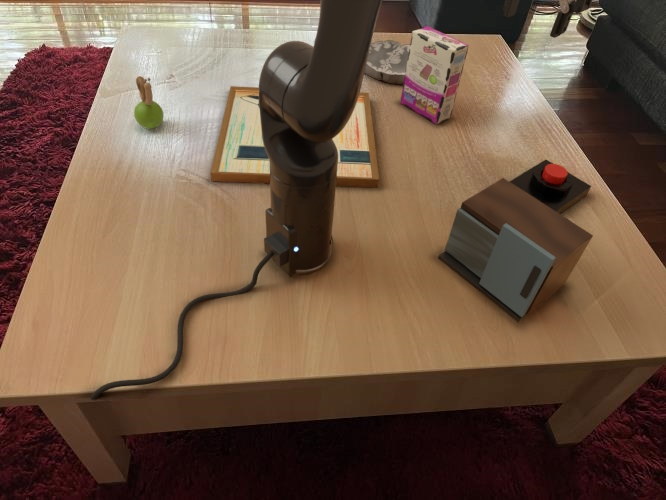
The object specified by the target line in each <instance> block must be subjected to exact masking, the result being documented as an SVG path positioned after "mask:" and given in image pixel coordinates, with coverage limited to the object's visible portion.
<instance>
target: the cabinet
mask: <svg viewBox="0 0 666 500" xmlns="http://www.w3.org/2000/svg"><path fill="white" fill-rule="evenodd" d="M506 223H507V224H508V225H510V226H511V227H513V228H514V229H516V230H517V231H518V232H520V233H521V234H523V235H524V236H526V237H527V238H529V239H530V240H531V241H533V242H534V243H536V244H537V245H539V246H540V247H541V248H543V249H544V250H546V251H547V252H549V253H550V254H552V255H553V256H554V257H556V258H555V260H554V262H553V264H552V266H551V268H550V269H549V271H548V273H547V275H546V277H545V279H544V280H543V282H542V284H541V286H540V288H539V290H538V291H537V293H536V295H535V297H534V299H533V301H532V303H531V304H530V306H529V308H528V310H527V312H526V314H525V315H524V316H523V317H521V316H519V315H518V314H517V313H515V312H514V311H513V310H512V309H510V308H509V307H508V306H507V305H505V304H504V303H503V302H502V301H500V300H499V299H498V298H497V297H495V296H494V295H493V294H491V293H490V292H489V291H488V290H486V289H485V288H484V287H483V286H481V285H480V284H479V282H480V280H481V278H482V275H483V273H484V270H485V268H486V265H487V263H488V260H489V258H490V256H491V253H492V251H493V248H494V246H495V243H496V241H497V239H498V236H499V234H500V231H501V229H502V226H503V225H504V224H506ZM593 236H594V235H593V234H592V233H590V232H589V231H587V230H585V229H584V228H582V227H581V226H579V225H578V224H576V223H575V222H573V221H571V220H570V219H568V218H567V217H565V216H564V215H562V214H559V213H557V212H556V211H554V210H553V209H551V208H550V207H548V206H546V205H545V204H543V203H542V202H540V201H539V200H537V199H536V198H534V197H532V196H531V195H529V194H528V193H526V192H525V191H523V190H522V189H520V188H518V187H517V186H515V185H514V184H512V183H511V182H510V180H508V179H506V178H505V177H501V178H500V179H499V180H496V181H495V182H493V183H492V184H490V185H489V186H487V187H485V188H483V189H482V190H481V191H479V192H477V193H475V194H474V195H472V196H470V197H468V198H467V199H465V200H463V201H462V202H461V205H460V207H458V208H457V209H456V212H455V216H454V219H453V221H452V226H451V229H450V231H449V235H448V239H447V242H446V245H445V248H444V251H442V252H440V253H439V254H438V256H437V259H438V260H439V261H441V263H443V264H445V265H446V266H447V267H448V268H450V270H452V271H453V272H455V273H456V274H457V275H458V276H460V277H461V278H462V279H463V280H465V281H466V282H467V283H468V284H469V285H470V286H471V287H473V288H475V290H477V291H478V292H480V293H481V294H482V295H483V296H485V297H486V298H487V299H488V300H489V301H491V302H492V303H493V304H495V306H497V307H498V308H499V309H501V310H502V311H503V312H504V313H506V314H507V315H508V316H509V317H510V318H512V319H513V320H514V321H516V322H517V323H520V322H521V321H522V320H524V319H525V318H526V317H527V316H528V315H530V314H531V313H532V312H533V311H534V310H535V309H537V308H538V307H539V306H540V305H542V304H543V303H544V302H545V301H547V300H548V299H549V298H550V297H551V296H553V295H554V294H555V293H556V292H557V291H558V290H560V289H561V288H562V287H564V286H565V284H566V282H567V281H568V279H569V277H570V276H571V274H572V272H573V271H574V269H575V267H576V265H577V264H578V262H579V261H580V259H581V257H582V256H583V254H584V252H585V250H586V248H587V247H588V245H589V244H590V242H591V240H592V238H593Z"/></svg>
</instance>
